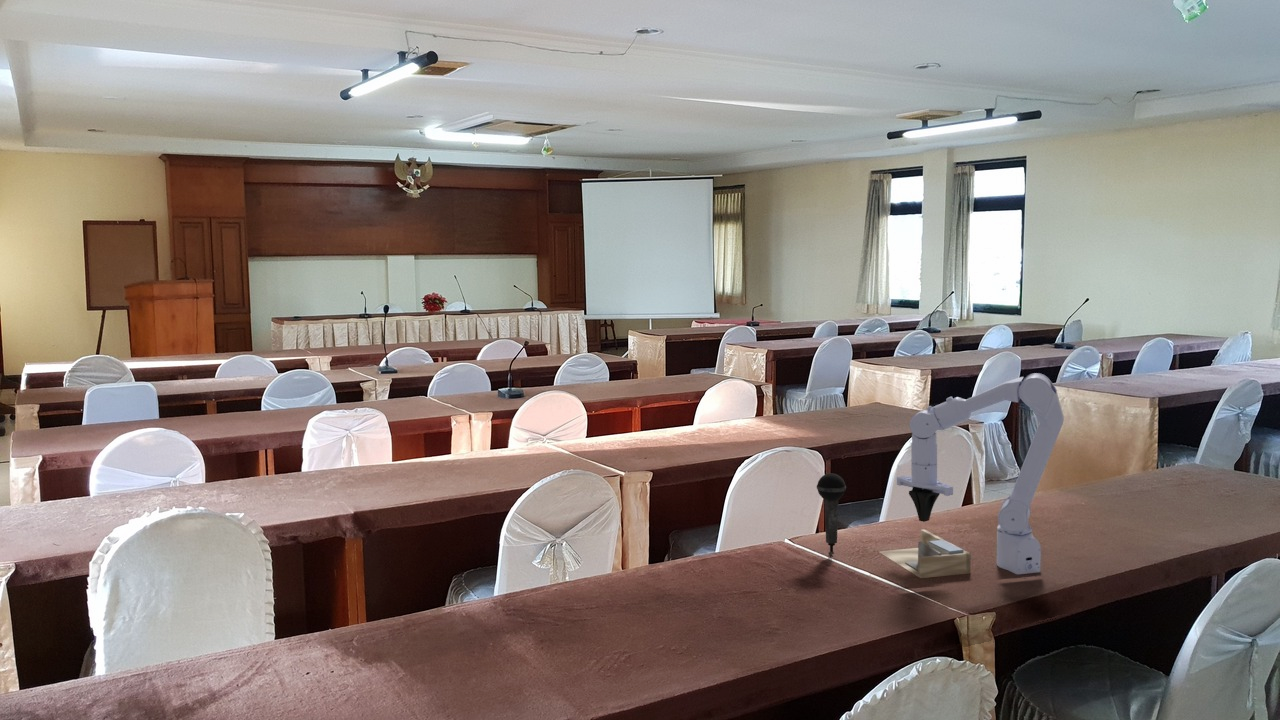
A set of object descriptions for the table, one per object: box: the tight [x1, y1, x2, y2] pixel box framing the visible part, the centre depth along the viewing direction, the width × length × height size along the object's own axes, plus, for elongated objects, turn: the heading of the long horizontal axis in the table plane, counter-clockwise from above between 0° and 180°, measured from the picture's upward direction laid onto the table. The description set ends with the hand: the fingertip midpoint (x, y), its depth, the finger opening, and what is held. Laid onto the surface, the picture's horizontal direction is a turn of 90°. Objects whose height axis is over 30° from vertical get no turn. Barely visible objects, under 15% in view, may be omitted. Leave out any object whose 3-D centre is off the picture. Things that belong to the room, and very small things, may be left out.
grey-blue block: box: [929, 539, 964, 555], centre depth 212 cm, size 8×4×5 cm, turn 16°
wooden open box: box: [878, 529, 972, 579], centre depth 216 cm, size 20×12×6 cm, turn 12°
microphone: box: [816, 472, 847, 557], centre depth 223 cm, size 7×7×20 cm
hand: (924, 520), depth 220 cm, fingers closed
